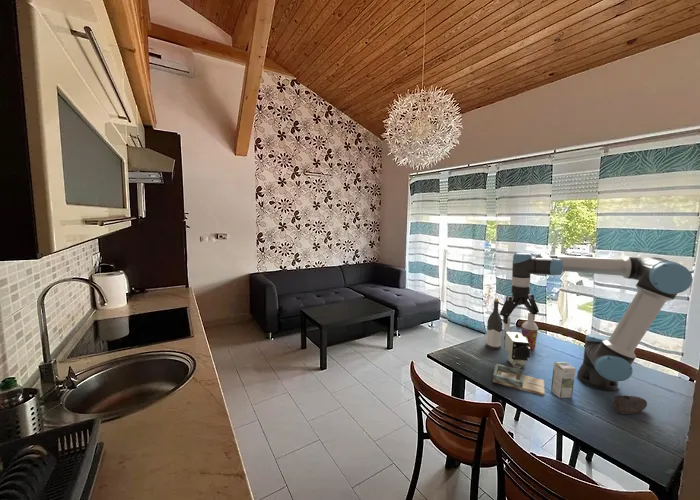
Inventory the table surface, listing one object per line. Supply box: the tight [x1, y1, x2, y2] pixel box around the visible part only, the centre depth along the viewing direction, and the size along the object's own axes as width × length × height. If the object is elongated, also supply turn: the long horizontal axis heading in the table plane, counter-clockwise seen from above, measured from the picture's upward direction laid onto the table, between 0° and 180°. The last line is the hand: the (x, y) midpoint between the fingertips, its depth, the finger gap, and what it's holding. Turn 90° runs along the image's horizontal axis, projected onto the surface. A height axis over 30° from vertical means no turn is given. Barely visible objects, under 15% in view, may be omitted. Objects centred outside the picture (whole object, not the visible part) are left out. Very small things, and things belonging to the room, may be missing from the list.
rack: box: [492, 363, 546, 397], centre depth 143 cm, size 21×12×4 cm, turn 58°
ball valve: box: [503, 330, 531, 370], centre depth 158 cm, size 18×8×18 cm, turn 168°
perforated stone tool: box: [612, 394, 648, 415], centre depth 122 cm, size 15×5×7 cm, turn 96°
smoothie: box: [521, 320, 539, 352], centre depth 177 cm, size 8×8×20 cm
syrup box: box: [550, 361, 576, 399], centre depth 133 cm, size 6×6×14 cm
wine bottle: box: [485, 297, 503, 350], centre depth 179 cm, size 8×8×30 cm
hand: (518, 328), depth 144 cm, fingers open, 13 cm apart
